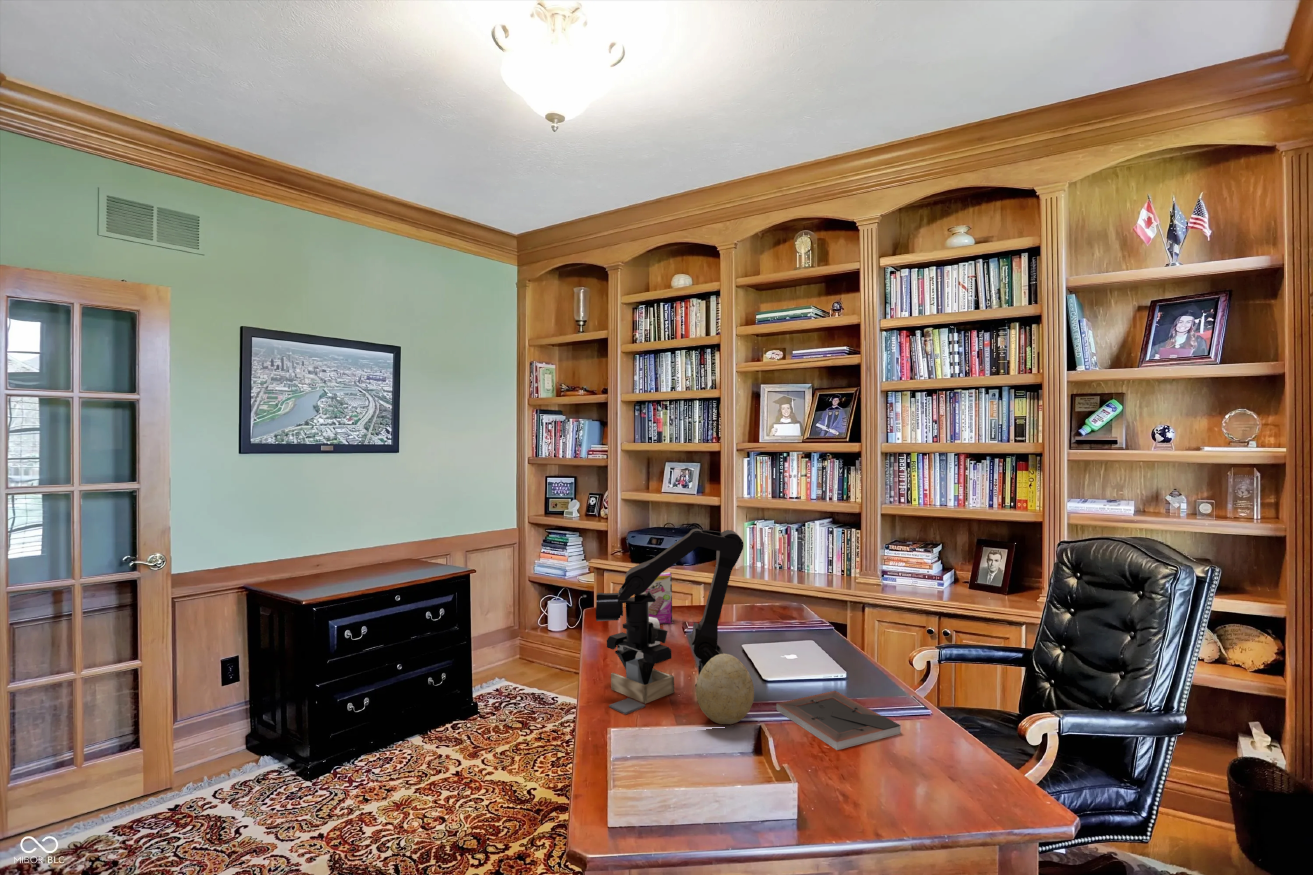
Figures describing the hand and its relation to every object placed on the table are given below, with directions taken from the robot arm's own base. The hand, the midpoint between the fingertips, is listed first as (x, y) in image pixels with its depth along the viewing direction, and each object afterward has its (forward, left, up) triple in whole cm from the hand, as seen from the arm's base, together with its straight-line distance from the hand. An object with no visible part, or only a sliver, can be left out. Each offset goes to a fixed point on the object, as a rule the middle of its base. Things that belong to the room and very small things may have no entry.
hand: (639, 681), depth 172 cm
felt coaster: (-6, +9, -2) cm, 11 cm away
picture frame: (-45, -18, -3) cm, 49 cm away
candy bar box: (+40, -42, -2) cm, 58 cm away
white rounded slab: (+14, -14, -2) cm, 20 cm away
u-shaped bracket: (-1, 0, -2) cm, 2 cm away
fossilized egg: (-28, -1, -2) cm, 28 cm away
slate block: (0, 0, -2) cm, 2 cm away
